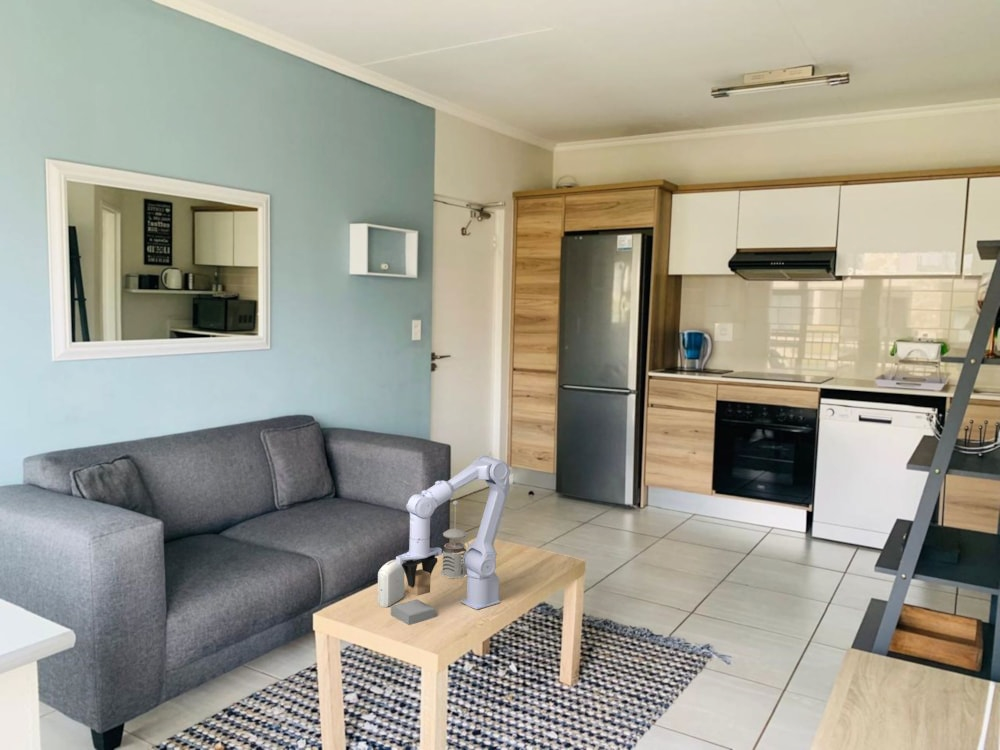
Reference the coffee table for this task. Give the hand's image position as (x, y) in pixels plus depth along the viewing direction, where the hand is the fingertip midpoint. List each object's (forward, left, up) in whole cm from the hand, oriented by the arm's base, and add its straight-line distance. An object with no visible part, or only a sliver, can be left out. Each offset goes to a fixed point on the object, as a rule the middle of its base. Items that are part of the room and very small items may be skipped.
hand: (418, 584), depth 211 cm
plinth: (+1, -1, -10) cm, 10 cm away
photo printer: (0, -14, -10) cm, 17 cm away
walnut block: (0, 0, -2) cm, 2 cm away
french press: (-30, -21, -10) cm, 38 cm away
